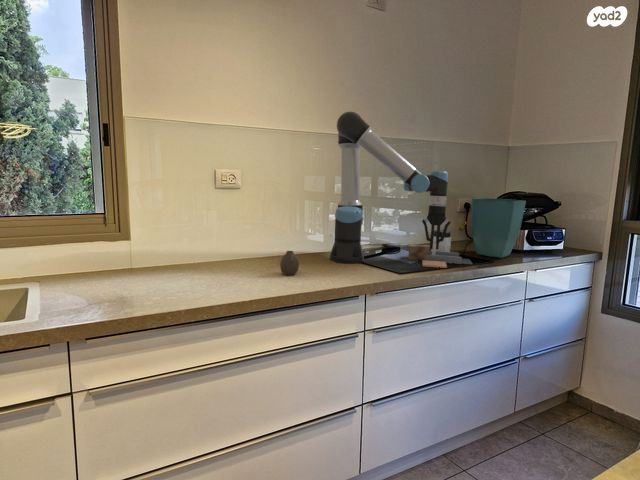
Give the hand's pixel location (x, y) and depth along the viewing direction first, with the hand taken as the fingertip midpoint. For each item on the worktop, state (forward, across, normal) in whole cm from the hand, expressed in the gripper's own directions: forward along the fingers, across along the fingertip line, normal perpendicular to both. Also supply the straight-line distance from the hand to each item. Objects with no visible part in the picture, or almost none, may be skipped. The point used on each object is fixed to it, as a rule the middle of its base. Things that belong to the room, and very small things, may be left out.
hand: (433, 255), depth 193 cm
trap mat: (+2, +14, 0) cm, 15 cm away
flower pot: (+2, +31, +25) cm, 40 cm away
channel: (+2, +4, 0) cm, 4 cm away
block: (+2, -7, 0) cm, 7 cm away
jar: (+2, +4, +13) cm, 14 cm away
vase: (+2, -54, -52) cm, 75 cm away
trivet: (+2, 0, -12) cm, 13 cm away
